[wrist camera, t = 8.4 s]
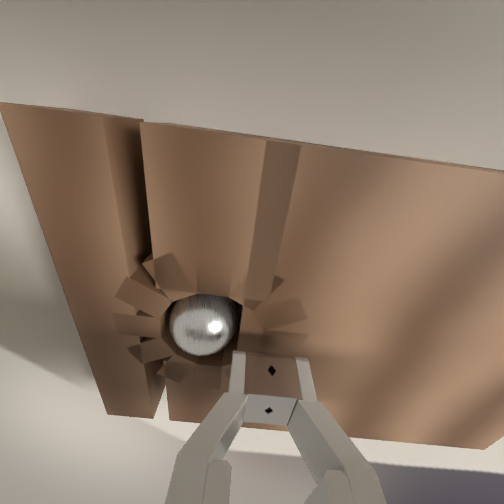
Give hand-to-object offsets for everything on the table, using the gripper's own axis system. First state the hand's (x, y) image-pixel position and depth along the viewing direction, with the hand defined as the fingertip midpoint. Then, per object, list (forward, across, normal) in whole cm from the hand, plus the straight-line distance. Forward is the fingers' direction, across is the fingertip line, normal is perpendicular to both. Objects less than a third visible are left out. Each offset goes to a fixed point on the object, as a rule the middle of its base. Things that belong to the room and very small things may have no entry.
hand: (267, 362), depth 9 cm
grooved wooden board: (+4, -4, 0) cm, 5 cm away
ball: (+2, +1, 0) cm, 3 cm away
